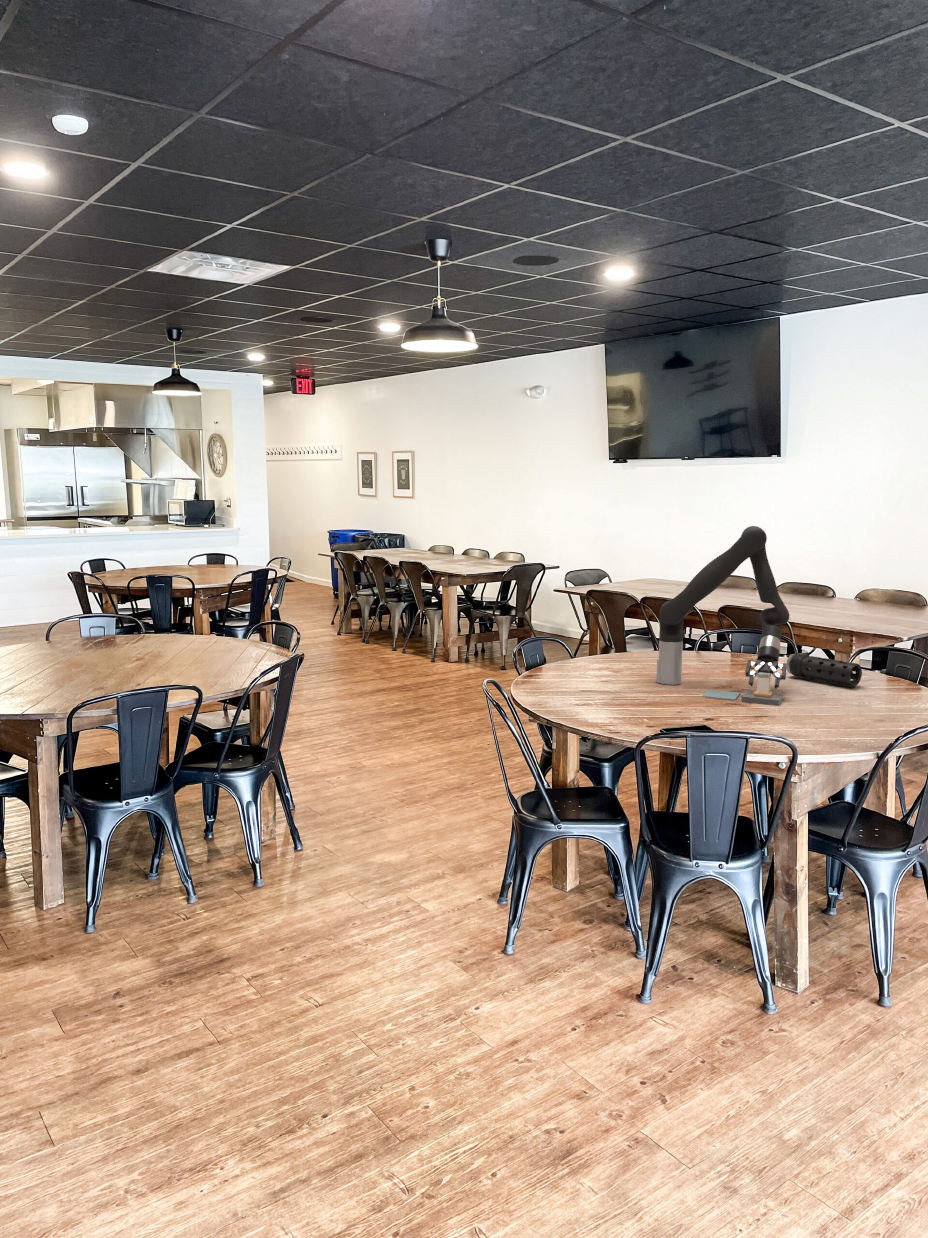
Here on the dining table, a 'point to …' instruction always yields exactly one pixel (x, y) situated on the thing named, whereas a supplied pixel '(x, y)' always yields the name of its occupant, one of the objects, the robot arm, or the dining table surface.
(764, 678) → the plug
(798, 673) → the muzzle brake
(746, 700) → the socket box
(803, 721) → the dining table surface
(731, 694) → the mat
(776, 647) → the robot arm
